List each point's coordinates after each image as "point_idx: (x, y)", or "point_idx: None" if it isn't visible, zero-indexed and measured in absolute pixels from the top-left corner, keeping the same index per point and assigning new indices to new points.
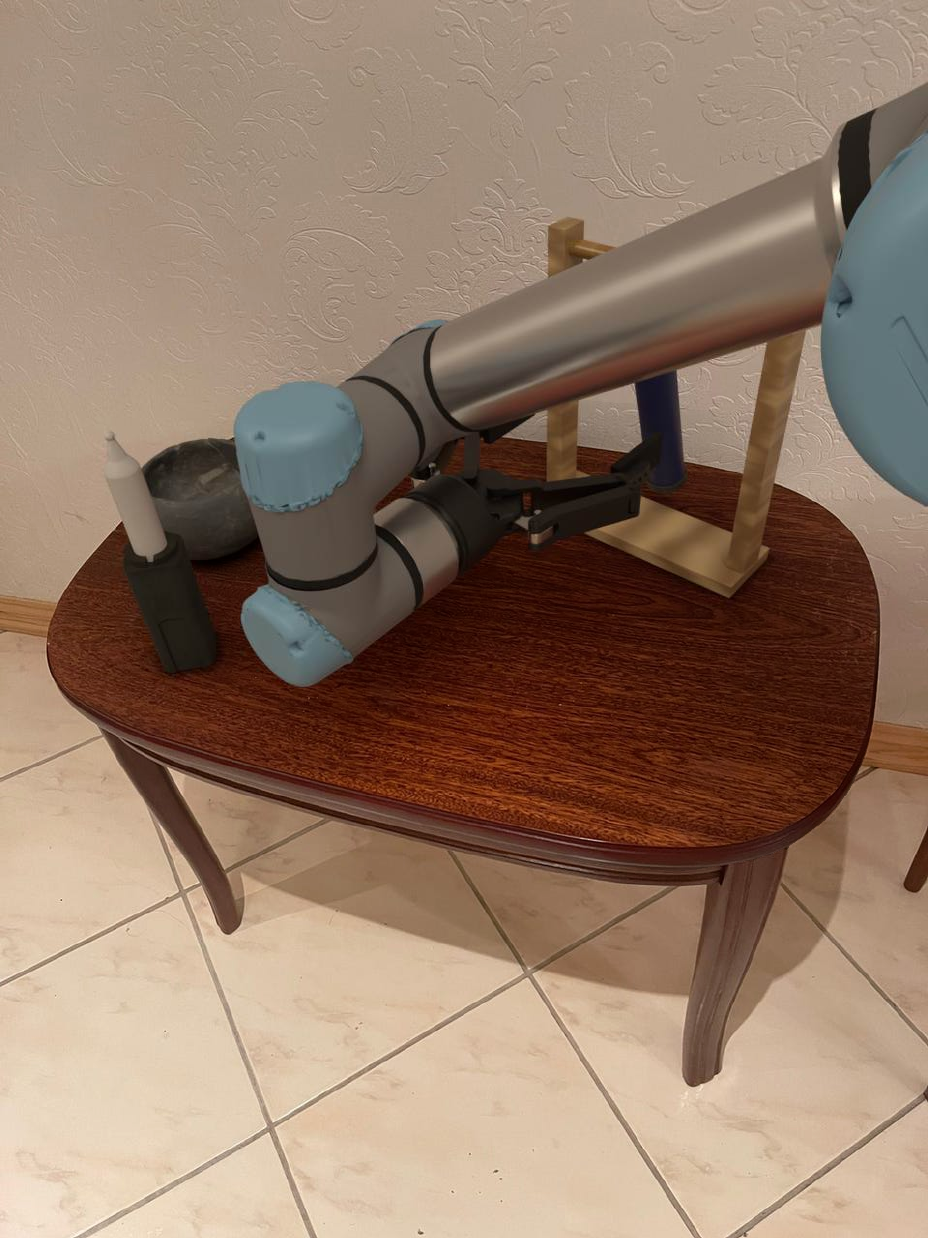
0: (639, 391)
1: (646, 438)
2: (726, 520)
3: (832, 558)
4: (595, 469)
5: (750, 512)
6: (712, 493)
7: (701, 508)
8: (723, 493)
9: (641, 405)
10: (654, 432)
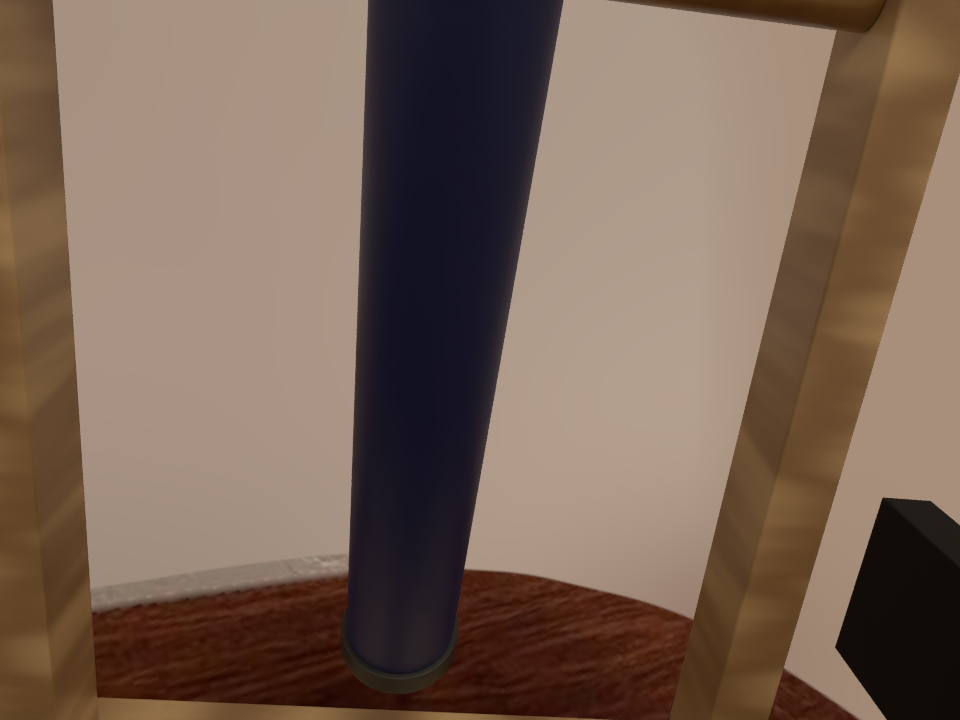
0: (405, 389)
1: (940, 550)
2: (515, 683)
3: None
4: (125, 668)
5: (767, 672)
6: None
7: (444, 674)
8: None
9: (402, 440)
10: (891, 504)
